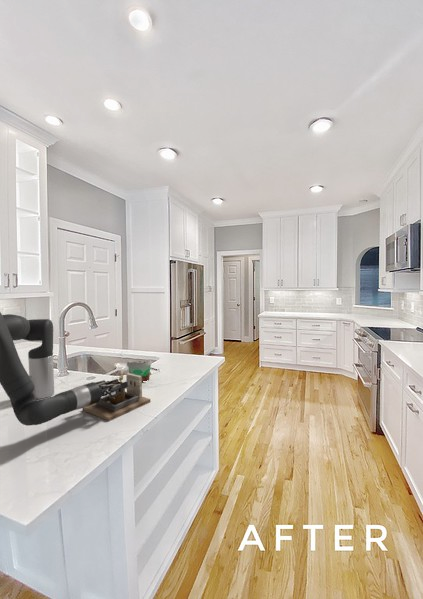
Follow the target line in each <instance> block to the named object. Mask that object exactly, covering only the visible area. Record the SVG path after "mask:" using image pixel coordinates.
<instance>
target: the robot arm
mask: <svg viewBox="0 0 423 599" xmlns="http://www.w3.org/2000/svg"><path fill="white" fill-rule="evenodd" d="M21 340H25V341H28V342H41V345H40V346H37V347H34V348H33V349H32V348H31V349H30V350H29V351H28V353H27V357H28V372H27V370H26V368H25V366H24V365H23V363H22V360H21V359H20V356H19V354H18V351H17V348H16V345H15V343H14V341H21ZM53 351H54V324H53V322H52V320H51V319H49V318H41V319H40V318H39V319H38V318H37V319H27V318H26V317H23V316H21V315H17V314H12V313H11V314H10V313H9V314H7V313H6V314H2V312H1V311H0V385H1V387H2V389H3V391H4V392H5V394H6V395H7V397H8V398H9V400H10V404H11V407H12V408H11V409H12V410H13V413H14V416H15V417H16V419H17V420H18V422H19V423H20V424H22V425H23V426H29V427H30V426H38V425H43V424H44V423H47V422H50V421H52V420H54V419H56V418H58V417H60V416H62V415H65V414H68V413H71V412H74V411H77V410H81V409H82V408H84V407H87V406H89V405H92V404H95V403H97V402H99V400H100V399H101V398H102V397H105V396H107V395H110V397H114V396H116V395H118V394H120V393H122V389H124V388H125V389H127V387H128V382H127V381H124V382H123V381H122V382H123V383H120V384H116V385H114V384H111V383H113V382H120V381H119V378H116V379H113V380H112V379H111V380H107V381H106V380H104V379H103V380H101V381H96V382H93V381H92V382H88V383H85V384H82V385H79V386H76V387H73V388H71V389H68V390H65V391H62V392H59V393H56V394H55V376H54V352H53ZM117 380H118V381H117ZM111 386H112V389H111ZM54 394H55V395H54ZM37 399H38V400H37Z"/></svg>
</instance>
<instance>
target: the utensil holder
mask: <svg viewBox="0 0 423 599" xmlns="http://www.w3.org/2000/svg"><path fill="white" fill-rule="evenodd" d="M113 374H115V375H111V381H112V380H115V378H116V377H118V380H119V382H113V383H111V384H114V385H116V384H120V383H123V380H124V374H125V373H124V372H121V373H120V374H117V372H113ZM118 380H117V381H118ZM111 389H112V386H111ZM125 392H126V388H124V389H122V393H120V394H118V395H116V396H114V397H110V395H109V401H110V403H113V404H117V403H121V402H123V401H124V400H125Z"/></svg>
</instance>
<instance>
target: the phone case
mask: <svg viewBox="0 0 423 599" xmlns="http://www.w3.org/2000/svg"><path fill="white" fill-rule="evenodd" d="M150 368H154V369H158V370H154V369H153V370H154V371H150V373H153V374H154V373H156V372H160V371H161V372H162V369H160V368H156V367H152V366H150Z"/></svg>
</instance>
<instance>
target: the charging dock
mask: <svg viewBox="0 0 423 599" xmlns="http://www.w3.org/2000/svg"><path fill="white" fill-rule="evenodd" d="M125 375H126V382H128V387H127V388H126V391H125V400H124V401H123V402H121V403H117V404H113V403H110V401H109V395H107V396H102V397H101V399H100V400H99V402H97V403H95V404H92V405H89V406H87V407H84V408H81V409H82V411H83V412H86V413H87V414H90V415H93V416H95V417H98V418H100V419H102V420H105V421H107V422H111V421H113V420H114V419H116V418H119V417H121V416H123V415H125V414H128V413H130V412H132V411H134V410H136V409H138V408H140V407H143V406H145V405H148V404H149V403H151V398H147V397H145V396H143V383H142V376H139V375H134V374H130V373H129V372H127V373H126V374H125Z"/></svg>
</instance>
